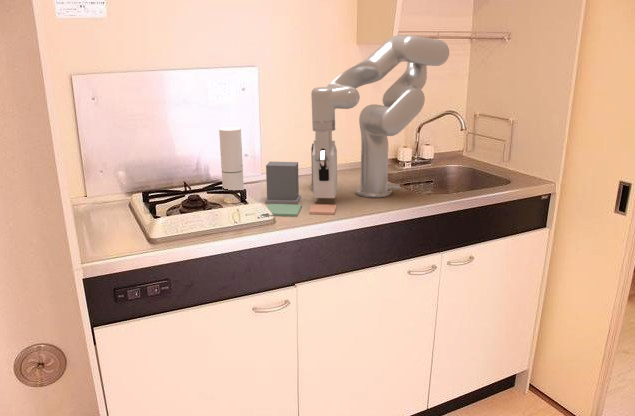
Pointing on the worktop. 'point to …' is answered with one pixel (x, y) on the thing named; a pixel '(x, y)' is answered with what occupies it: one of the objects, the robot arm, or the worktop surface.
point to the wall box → (282, 183)
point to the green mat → (284, 209)
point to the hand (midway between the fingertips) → (325, 177)
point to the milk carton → (329, 187)
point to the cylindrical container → (231, 159)
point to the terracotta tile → (323, 209)
